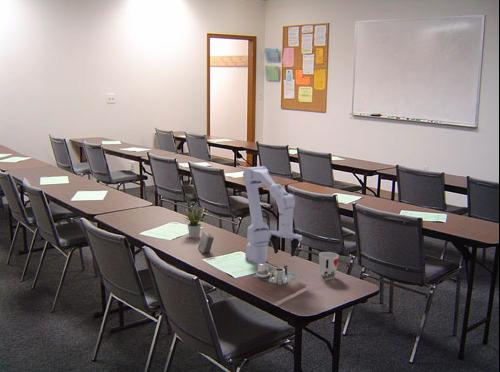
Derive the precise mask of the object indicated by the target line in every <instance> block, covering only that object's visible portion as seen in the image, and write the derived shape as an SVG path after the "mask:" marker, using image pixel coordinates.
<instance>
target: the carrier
mask: <svg viewBox="0 0 500 372" xmlns="http://www.w3.org/2000/svg"><path fill="white" fill-rule="evenodd" d="M275 268H276V267H274V266H273V267H271V268H268V272H270V277H268V278H258V277H256V274H254V275H252V277H253V278H256V279H259V280H263V281H266V282H270V283H273V282H272V277H274V269H275ZM283 269H285V277H286V278H287V282H286V283H285V284H288V282H292V281H294V280H296V279H298V278H300V277H301V276H302V275H303V274H302V275H301V274H298V273H295V272H292V271H288V265H287V264H284V265H283ZM302 277H303V276H302ZM273 284H274V283H273ZM277 285H279V286H282V285H283V286H284V284H277Z"/></svg>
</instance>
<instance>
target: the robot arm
mask: <svg viewBox="0 0 500 372" xmlns="http://www.w3.org/2000/svg"><path fill="white" fill-rule="evenodd" d="M242 178H243V183H244V186H245V188H246V195H247V200H248V207H249V213H250V214H249V215H250V220H251V224H250V225H249V226H248V227H247V228H246V229H247V234H246V235H247V236H246V239H247V242H248V243H247V244H246V246H245V249H244V251H245V253H244V255H245V258H244V259H245V260H246V261H248V262H249V261H250V262H252V263H255V264H258V263H267V258H268V257H267V255H268V254H267V252H268V251H267V250H268V245H269V242H271V244H272V247H273V252H274V254H278V253H279V243H280V238H283V239H289V240H291V241H290V247H291V251H290V256H291V257H295V254H296V251H297V248H298V246H299V245H300V243H301V241H302V240H303V235H301V234H297V233H294V232H293V225H294V224H293V222H294V209H295V208H296V207H297V203H298V202H297V198H296V195H294V194H293V193H288V192H287V191H286V190H285V189H284V187H283V186H282V184H280V183H276V182H275V181H274V180H273V178H272V177H271V175H270V173H269V169H267V167H266V166H263V165H260V166H251V167H249V166H247V167H245V169H244V170H243V172H242ZM262 184H263V185H264V186H266V188H268V190H269V194H270V196H272V198H273V199H274V200H275V201H276V205H277V206H276V207H277V211H278V213H279V215H278V218H279V219H278V230H272V229H270V228H269V225H268V223H267V224H266V223H265V222H264V219H263V211H262V205H261V204H262V203H261V199H260V193H259V187H260V186H261V185H262Z"/></svg>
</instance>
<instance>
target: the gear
mask: <svg viewBox="0 0 500 372" xmlns="http://www.w3.org/2000/svg"><path fill="white" fill-rule="evenodd" d="M272 282H273V284H275V285H278V284H283V285H285V284H287V283H288V282H287V278H286V277H285V269H284V267H275V269H274V277H272ZM272 282H271V283H272ZM286 282H287V283H286Z"/></svg>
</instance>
